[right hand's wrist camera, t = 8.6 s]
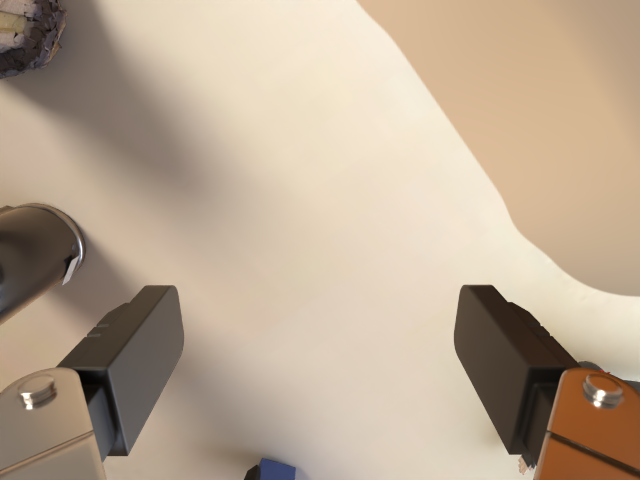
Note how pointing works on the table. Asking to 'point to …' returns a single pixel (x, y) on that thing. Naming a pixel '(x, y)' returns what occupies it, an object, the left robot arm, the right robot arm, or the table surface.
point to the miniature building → (29, 34)
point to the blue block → (276, 471)
